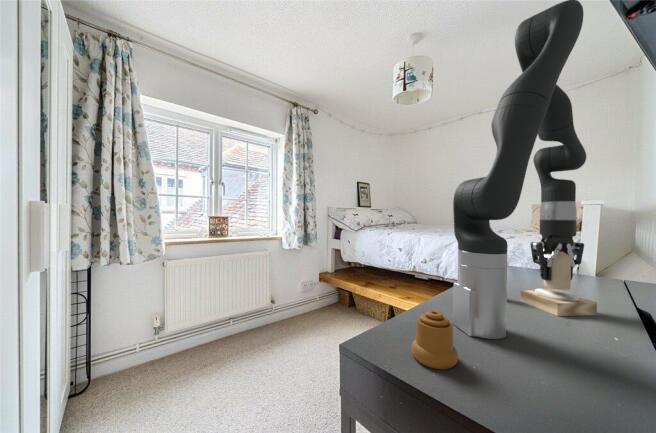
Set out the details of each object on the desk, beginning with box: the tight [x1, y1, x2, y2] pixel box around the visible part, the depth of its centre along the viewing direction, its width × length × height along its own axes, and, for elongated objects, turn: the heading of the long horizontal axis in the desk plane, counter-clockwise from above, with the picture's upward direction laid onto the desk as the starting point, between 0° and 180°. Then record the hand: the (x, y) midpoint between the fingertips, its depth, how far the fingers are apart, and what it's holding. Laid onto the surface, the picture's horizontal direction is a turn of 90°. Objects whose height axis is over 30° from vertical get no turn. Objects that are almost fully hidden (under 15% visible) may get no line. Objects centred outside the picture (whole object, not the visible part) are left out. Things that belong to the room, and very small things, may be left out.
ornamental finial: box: [410, 309, 459, 370], centre depth 44 cm, size 8×8×8 cm
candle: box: [542, 252, 572, 291], centre depth 69 cm, size 6×6×10 cm
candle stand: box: [519, 287, 598, 317], centre depth 70 cm, size 11×11×4 cm
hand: (556, 279), depth 70 cm, fingers closed on candle, 5 cm apart
